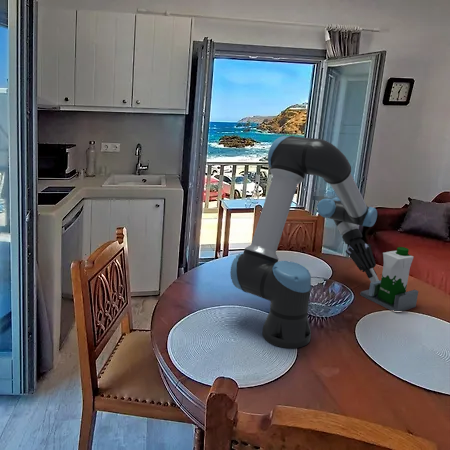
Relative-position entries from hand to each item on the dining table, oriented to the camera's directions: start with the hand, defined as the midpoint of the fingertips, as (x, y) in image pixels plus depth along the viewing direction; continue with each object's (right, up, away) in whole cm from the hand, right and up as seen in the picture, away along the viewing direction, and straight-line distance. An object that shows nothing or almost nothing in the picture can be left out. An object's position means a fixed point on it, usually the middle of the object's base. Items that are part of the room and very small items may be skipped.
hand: (376, 284), depth 172 cm
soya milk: (+3, -5, -5) cm, 8 cm away
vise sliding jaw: (+1, -3, -1) cm, 4 cm away
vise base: (+3, -6, -4) cm, 7 cm away
